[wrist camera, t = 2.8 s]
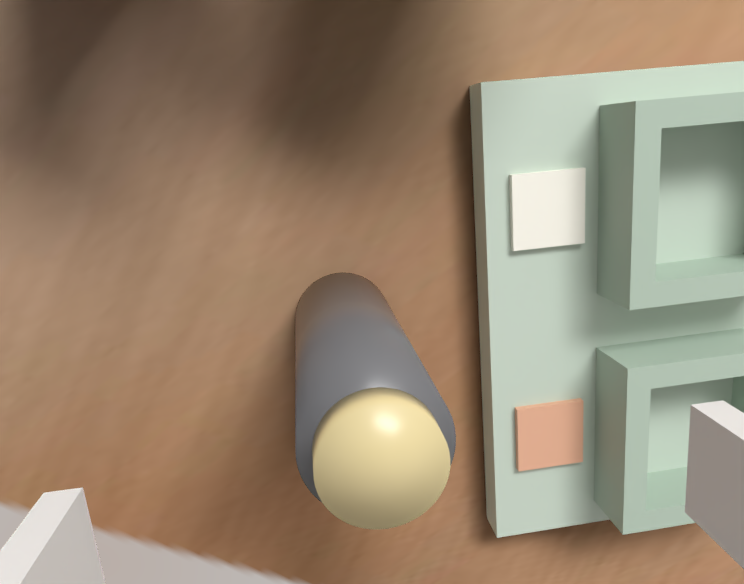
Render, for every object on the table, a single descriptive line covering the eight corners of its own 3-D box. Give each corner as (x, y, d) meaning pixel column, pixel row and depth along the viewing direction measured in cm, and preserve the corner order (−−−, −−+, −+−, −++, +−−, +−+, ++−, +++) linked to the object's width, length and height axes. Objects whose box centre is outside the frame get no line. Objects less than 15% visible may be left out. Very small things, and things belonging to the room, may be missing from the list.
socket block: (486, 517, 28) (516, 576, 25) (469, 86, 23) (503, 74, 19) (751, 475, 30) (819, 525, 26) (790, 59, 25) (882, 44, 21)
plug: (301, 367, 25) (306, 555, 14) (289, 278, 24) (285, 401, 13) (391, 355, 26) (470, 530, 14) (384, 267, 25) (462, 378, 13)
